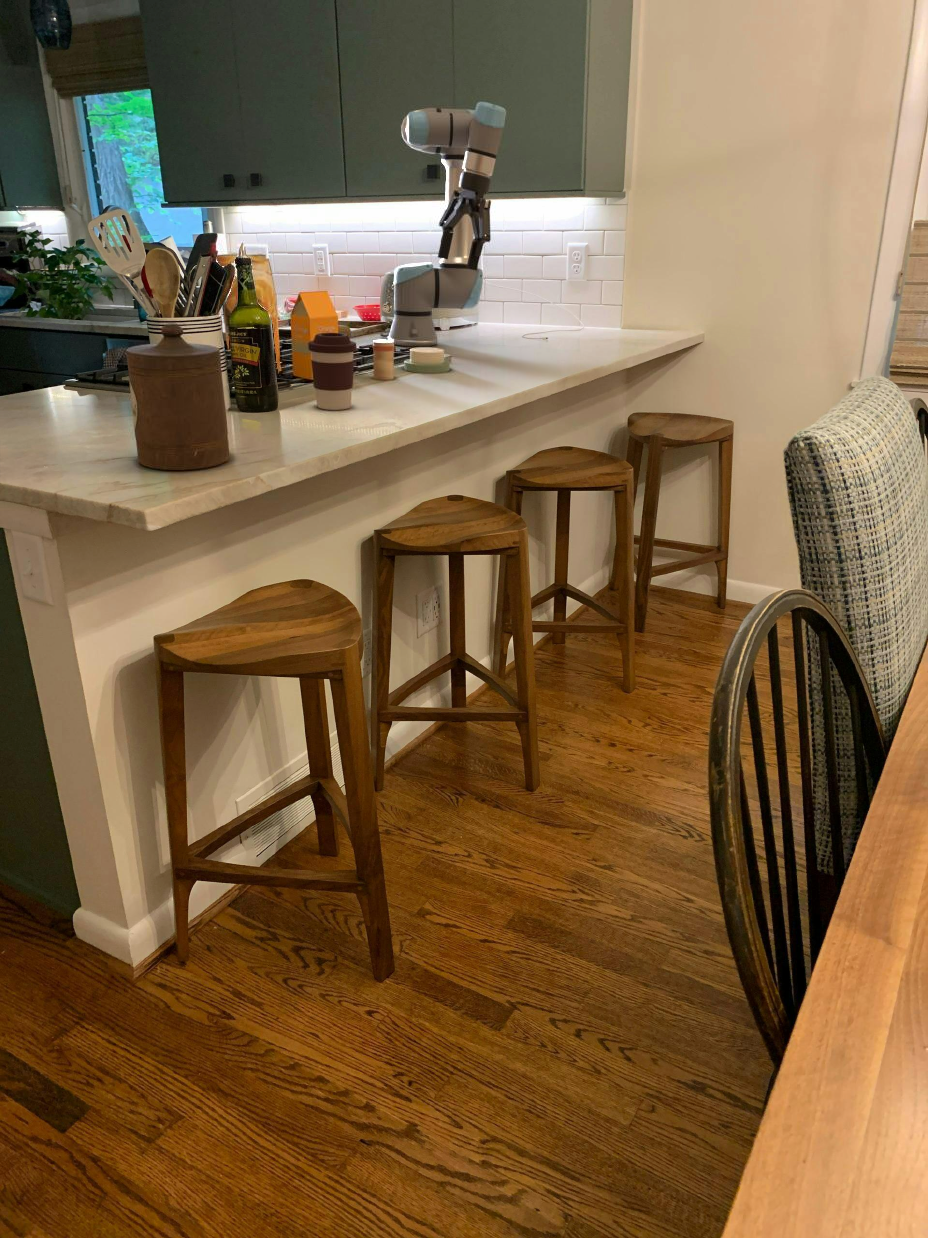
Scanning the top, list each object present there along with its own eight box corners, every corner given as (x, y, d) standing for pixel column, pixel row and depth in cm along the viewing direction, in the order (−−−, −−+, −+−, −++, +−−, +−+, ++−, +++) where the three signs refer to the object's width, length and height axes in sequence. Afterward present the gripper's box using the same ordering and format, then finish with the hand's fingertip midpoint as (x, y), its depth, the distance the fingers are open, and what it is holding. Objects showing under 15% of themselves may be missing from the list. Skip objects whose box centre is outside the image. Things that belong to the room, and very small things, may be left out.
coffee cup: (319, 413, 194) (317, 338, 187) (304, 404, 201) (301, 332, 195) (364, 410, 198) (363, 336, 192) (347, 401, 206) (345, 330, 200)
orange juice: (339, 376, 234) (338, 291, 226) (312, 379, 228) (309, 293, 220) (320, 371, 239) (317, 289, 230) (292, 375, 233) (288, 290, 224)
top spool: (369, 377, 233) (368, 340, 229) (385, 375, 236) (385, 338, 233) (382, 380, 230) (382, 343, 226) (398, 378, 233) (398, 341, 229)
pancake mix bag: (212, 377, 227) (203, 253, 216) (273, 368, 241) (267, 252, 229) (230, 380, 223) (221, 255, 212) (291, 371, 237) (285, 253, 225)
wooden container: (170, 445, 166) (157, 316, 157) (245, 453, 162) (236, 321, 153) (119, 465, 153) (102, 325, 144) (199, 475, 149) (187, 332, 140)
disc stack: (395, 367, 247) (395, 348, 245) (428, 363, 255) (428, 345, 253) (425, 374, 239) (425, 354, 237) (458, 370, 247) (459, 350, 245)
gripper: (518, 184, 222) (496, 276, 231) (461, 170, 239) (442, 256, 248) (493, 177, 218) (471, 271, 227) (437, 163, 235) (419, 251, 244)
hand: (456, 263), depth 237 cm, fingers open, 13 cm apart
